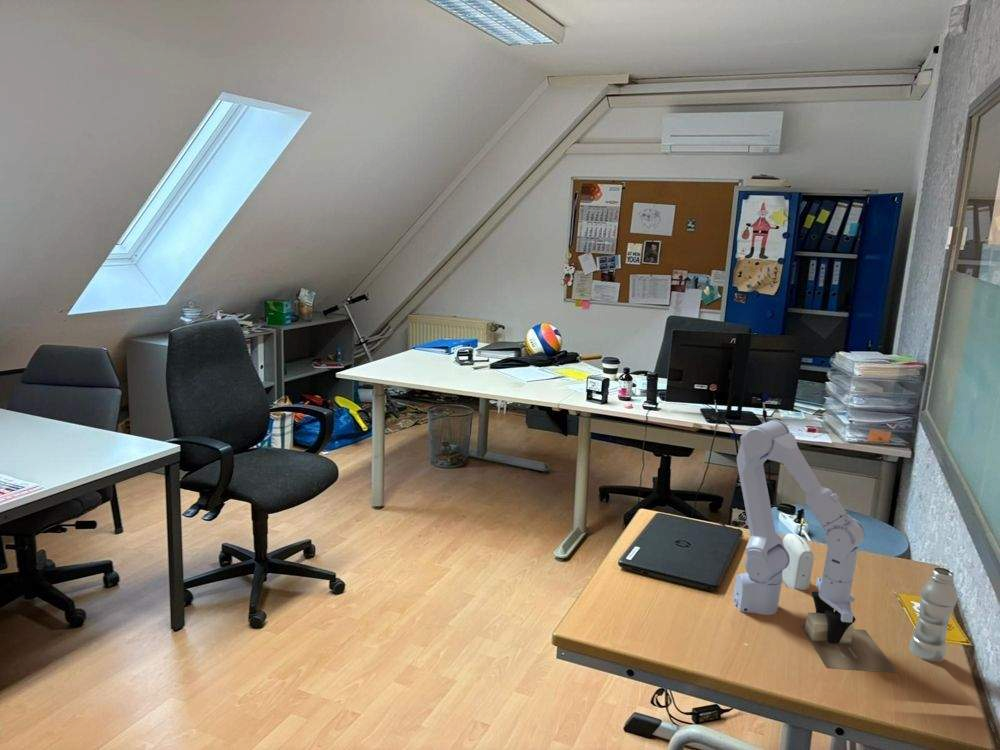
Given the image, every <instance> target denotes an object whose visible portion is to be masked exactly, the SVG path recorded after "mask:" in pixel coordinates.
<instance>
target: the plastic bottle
mask: <svg viewBox="0 0 1000 750" xmlns="http://www.w3.org/2000/svg"><path fill="white" fill-rule="evenodd" d="M930 576H931V579H930V580H929V581H928V582H927V583H925V584H924V585H923V587H922V588H921V590H920V600H919V601H920V602H919V612H918V617H917V622H916V626H915V628H914V632H913V633H912V636H911V638H910V640H909V649H908V650H909V651H910V652H911V653H912V654H913V655H914V656H916V657H917V658H918V659H921V660H924V661H928V662H934V663H935V662H938V663H941V662H942V661H943V659H944V657H945V656H946V649H947V648H946V644H947V643H946V639H947V632H948V626H949V623H950V620H951V616H952V614H953V611H954V609H955V606H956V605H957V602H958V598H957V596H958V595H957V593H956V591H955V589H954V587H953V585H952V584H953V582H954V577H955V575H954V572H953V571H952V570H950V569H948V568H945V567H941V566H939V567H938V566H937V567H934V568H933V570H932V573H931V575H930Z"/></svg>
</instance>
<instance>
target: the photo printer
mask: <svg viewBox="0 0 1000 750" xmlns="http://www.w3.org/2000/svg"><path fill="white" fill-rule="evenodd" d="M782 540H783V544H784V547H785V548H786V550H787V551H788V553H789V556H790V563H789V565H788V567H787V568H785V569H784V570H783V572H782V577H783V578H782V583H784V584H785V586H786V587H787V588H788V589H796V590H802V591H804V590H805V591H806V590H809V587H810V582H811V577H812V572H813V565H814V561H815V559H814V558H815V555H814V552H813V550H812V547H811V546H810V545H809V543H808V542H807V541H806V540H805V539H804V538H803V537H802V536H800V535H798V534H796V533H787V534H786V535H785V536H784V537H783V539H782Z"/></svg>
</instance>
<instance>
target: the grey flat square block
mask: <svg viewBox="0 0 1000 750" xmlns="http://www.w3.org/2000/svg"><path fill="white" fill-rule="evenodd" d="M800 627H801V629H802V630H803V632H804V634H805V636H806V637H807V639H808V640H809V642H810V644H811V645H812V647H813V649H814V650H815V652H816V654H818V657H819V658H820V660H821V661H822V663H823V665H824V666H825V668H826V669H834V670H848V671H850V670H851V671H860V672H861V671H862V672H875V673H888V674H889V673H892V674H899V672H898V671H897V669H896V668H895V667H894V666H893V664H892V663H891V661H890V660H889V659H888V658H887V656H886V655H885V653H884V652H883V651H882V650H881V648H880V647H879V645H877V643H876V642H875V641H874V639H873V638H872V636H871V635H870V634H869V632H867V630H866V629H856V628H854V629H853V634H852V640H851V644H848V643H838V644H837V643H829V642H821V641H812V640H811V638H810V636H809V635H808V633H807V632H806V630H805V625H800Z"/></svg>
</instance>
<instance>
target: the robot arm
mask: <svg viewBox="0 0 1000 750" xmlns="http://www.w3.org/2000/svg"><path fill="white" fill-rule="evenodd" d="M767 460H770V461H773V462H777V463H780V464H783V465H784V466H785V468H786V469H787V471H788V472H789V473H790V474H791V475H792V477H793V478H794V480H795V481H796V482H797V484H798V485H799V486H800V488H802V490H803V491H804V493H805V494H806V498H805V504H806V505H807V507H808V508H809V510H810V511H811V513H812V515H813V516H814V518H816V520H817V521H818V524H819V526H820V527H821V528H822V530H823V531H824V532H825V533H824V541H825V544H826V546H827V549H826V554H825V560H824V567H823V572H822V577H817V578H816V582H815V586H816V587H817V589H818V591H812V592H811V597H812V599H813V602H814V608H815V613H825V615H826V618H827V623H828V632H827V639H828V642H829V643H837V644H838V643H839V642H840V640H841V638H842V636H843V634H844V633H845V631H846V630H847V628H848V627H849V626H850V625H851V624H852V625H853V623H854V624H855V622H856V617H855V615H854V612H853V611H852V602H855V601H856V597H855V596H854V595H853V594H851V591H852V586H853V581H854V575H855V570H856V565H857V558H858V552H859V547H858V546H859V545H860V544H862V542H863V541H864V539H865V537H866V533H865V529H864V527H863V525H862V523H861V522H860V521H858V519H855V518H853V517H852V516H851V515H850V514H848V513H847V511H846V510H845V509H844V507H843V505H842V504H841V502H840V501H839V499H840V496H839V495H838V494H837V493H836V492H835V493H834V492H833V491H832V489H830V488H827V487H826V486H825V487H824V486H822V485H821V483H820V482H819V480H818V478H817V477H816V475H815V473H814V472H813V469H812V468H811V467H810V465H809V463H808V462H807V460H806V458H805V457H804V455H803V453H802V451H801V450H800V448H799V446H798V443H797V439H796V436H795V435H794V434H793V433H792V432H790V429H789V427H788V425H787V424H786V423H785V422H783V421H781V420H778V419H771V420H768V421H767V422H764V423H760V424H759V425H754V426H751V427H749V428H748V429H746V431H744V432H743V434H742V435H741V436H740V445H739V449H738V453H737V455H736V464H737V469H738V470H737V472H738V475H739V481H740V485H741V492H742V497H743V502H744V508H745V514H746V519H747V525H748V530H749V540H748V542H747V544H746V548H745V551H746V552H745V553H746V558H745V561H744V568H745V571H746V572H745V573H744V572H743V573H737V575H736V576H735V581H734V582H735V583H734V589H733V596H732V598H733V602H734V603H733V604H734V605H735V606H737V607H736V608H738V611H739V612H741V613H751V614H757V615H758V614H759V615H763V616H772V615H775V614H776V613H777V612H778V610H779V602H780V596H781V591H782V583H783V580H782V578H783V577H782V572H783V570H784V569H785V568H787V567H788V565H789V563H790V556H789V553H788V551H787V550H786V548H785V547H784V544H783V540H784V539H783V537H781V536H780V535H779V534H778V533H776V528H775V522H774V517H773V511H772V507H771V506H772V505H771V500H770V495H769V489H768V484H767V479H766V472H765V467H764V464H765V462H766V461H767Z"/></svg>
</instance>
